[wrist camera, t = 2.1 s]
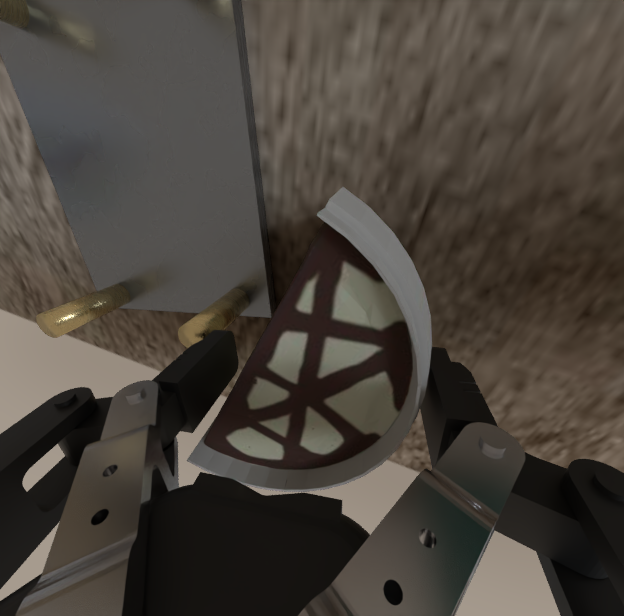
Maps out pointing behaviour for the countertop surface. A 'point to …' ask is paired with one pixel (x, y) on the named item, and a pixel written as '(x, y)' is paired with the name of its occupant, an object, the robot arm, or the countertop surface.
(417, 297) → the food container
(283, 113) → the countertop surface
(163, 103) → the chassis
